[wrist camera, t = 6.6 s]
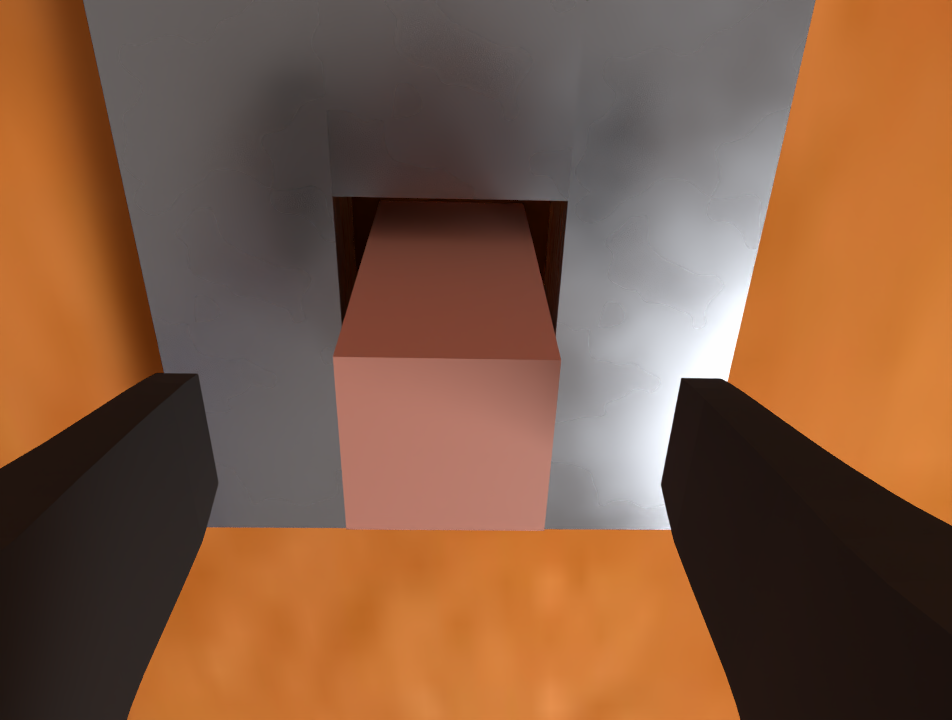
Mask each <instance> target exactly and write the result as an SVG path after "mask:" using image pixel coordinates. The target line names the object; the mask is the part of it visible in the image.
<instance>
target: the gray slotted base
mask: <svg viewBox="0 0 952 720" xmlns="http://www.w3.org/2000/svg"><path fill="white" fill-rule="evenodd" d="M83 2H84V7H85V11H86V16H87V21H88V25H89V30H90V34H91V39H92V44H93V48H94V53H95V57H96V62H97V67H98V71H99V76H100V80H101V85H102V90H103V94H104V99H105V103H106V108H107V113H108V117H109V122H110V126H111V131H112V136H113V140H114V145H115V150H116V154H117V159H118V163H119V168H120V173H121V177H122V182H123V186H124V191H125V196H126V200H127V205H128V209H129V214H130V219H131V223H132V228H133V232H134V237H135V242H136V246H137V251H138V255H139V260H140V265H141V269H142V274H143V278H144V283H145V288H146V292H147V297H148V301H149V306H150V311H151V315H152V320H153V324H154V329H155V334H156V338H157V343H158V347H159V352H160V357H161V361H162V366H163V370H164V373H198V375H199V381H200V386H201V391H202V397H203V402H204V407H205V413H206V418H207V423H208V429H209V434H210V439H211V445H212V450H213V455H214V461H215V466H216V471H217V477H218V482H219V484H218V488H217V491H216V495H215V499H214V503H213V506H212V510H211V514H210V518H209V521H208V524H207V527H273V528H346V518H345V505H344V492H343V480H342V467H341V454H340V442H339V429H338V416H337V404H336V391H335V378H334V366H333V355H334V351H335V348H336V345H337V341H338V338H339V334H340V331H341V328H342V324H343V321H344V318H345V314H346V311H347V308H348V304H349V301H350V298H351V294H352V291H353V288H354V284H355V281H356V278H357V276H356V260H355V243H354V226H353V209H352V197H390V198H442V199H494V200H546V201H550V213H549V226H548V238H547V251H546V264H545V276H544V291H545V295H546V299H547V303H548V307H549V312H550V316H551V320H552V324H553V328H554V332H555V336H556V341H557V345H558V349H559V353H560V357H561V368H560V378H559V388H558V398H557V408H556V418H555V428H554V438H553V448H552V458H551V468H550V478H549V488H548V498H547V508H546V518H545V528H544V529H633V530H671V527H670V524H669V520H668V516H667V511H666V507H665V502H664V498H663V493H662V489H661V480H662V475H663V470H664V465H665V459H666V454H667V449H668V444H669V439H670V433H671V428H672V423H673V418H674V413H675V407H676V402H677V397H678V392H679V386H680V381H681V378H722V379H723V380H725V381H727V380H728V376H729V372H730V367H731V363H732V359H733V354H734V350H735V346H736V341H737V337H738V333H739V328H740V324H741V320H742V315H743V311H744V307H745V303H746V298H747V294H748V290H749V285H750V281H751V277H752V272H753V268H754V264H755V259H756V255H757V251H758V246H759V242H760V238H761V233H762V229H763V225H764V221H765V216H766V212H767V208H768V203H769V199H770V195H771V190H772V186H773V182H774V177H775V173H776V169H777V164H778V160H779V156H780V151H781V147H782V143H783V139H784V134H785V130H786V126H787V121H788V117H789V113H790V108H791V104H792V100H793V95H794V91H795V87H796V82H797V78H798V74H799V69H800V65H801V61H802V57H803V52H804V48H805V44H806V39H807V35H808V31H809V26H810V22H811V18H812V13H813V9H814V5H815V0H83Z"/></svg>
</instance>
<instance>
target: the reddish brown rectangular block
mask: <svg viewBox="0 0 952 720" xmlns="http://www.w3.org/2000/svg"><path fill="white" fill-rule="evenodd" d="M333 366H334V378H335V391H336V404H337V416H338V429H339V442H340V454H341V467H342V480H343V492H344V505H345V518H346V529H384V530H518V531H544V528H545V518H546V508H547V498H548V488H549V478H550V468H551V458H552V448H553V438H554V428H555V418H556V408H557V398H558V388H559V378H560V368H561V357H560V353H559V349H558V345H557V341H556V336H555V332H554V328H553V324H552V320H551V316H550V312H549V307H548V303H547V299H546V295H545V291H544V287H543V283H542V278H541V274H540V270H539V266H538V262H537V258H536V254H535V249H534V245H533V241H532V237H531V233H530V229H529V224H528V220H527V216H526V212H525V208H524V204H522V203H475V202H429V201H383V200H380V201H379V204H378V208H377V211H376V214H375V218H374V221H373V224H372V228H371V231H370V234H369V238H368V241H367V244H366V248H365V251H364V254H363V258H362V261H361V264H360V268H359V271H358V274H357V278H356V281H355V284H354V288H353V291H352V294H351V298H350V301H349V304H348V308H347V311H346V314H345V318H344V321H343V324H342V328H341V331H340V334H339V338H338V341H337V345H336V348H335V351H334V355H333Z"/></svg>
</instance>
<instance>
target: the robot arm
mask: <svg viewBox="0 0 952 720" xmlns="http://www.w3.org/2000/svg"><path fill="white" fill-rule="evenodd" d="M218 484H219V482H218V477H217V471H216V466H215V461H214V455H213V450H212V445H211V439H210V434H209V429H208V423H207V418H206V413H205V407H204V402H203V397H202V391H201V386H200V381H199V375H198V373H156V374H154V375H152V376H150V377H148V378H146V379H144V380H143V381H141V382H139V383H137V384H136V385H134V386H132V387H131V388H129V389H128V390H126V391H124V392H123V393H121V394H120V395H118V396H116V397H115V398H113V399H112V400H110V401H109V402H107V403H106V404H104V405H103V406H101V407H99V408H98V409H96V410H95V411H93V412H92V413H90V414H89V415H87V416H85V417H84V418H82V419H81V420H79V421H78V422H76V423H74V424H73V425H71V426H70V427H68V428H67V429H65V430H63V431H62V432H60V433H59V434H57V435H56V436H54V437H53V438H51V439H49V440H48V441H46V442H45V443H43V444H41V445H40V446H38V447H36V448H35V449H33V450H31V451H29V452H28V453H26V454H24V455H23V456H21V457H19V458H17V459H16V460H14V461H12V462H11V463H9V464H7V465H6V466H4V467H2V468H0V720H127V717H128V714H129V711H130V708H131V706H132V703H133V700H134V698H135V695H136V693H137V690H138V688H139V685H140V683H141V680H142V678H143V675H144V673H145V671H146V668H147V666H148V664H149V662H150V659H151V657H152V655H153V653H154V650H155V648H156V646H157V644H158V641H159V639H160V637H161V635H162V632H163V630H164V628H165V626H166V623H167V621H168V619H169V617H170V615H171V612H172V610H173V608H174V606H175V603H176V601H177V599H178V597H179V594H180V592H181V590H182V588H183V585H184V583H185V581H186V578H187V576H188V574H189V572H190V569H191V567H192V565H193V562H194V560H195V558H196V555H197V553H198V551H199V548H200V546H201V544H202V541H203V538H204V534H205V531H206V528H207V524H208V521H209V518H210V514H211V510H212V506H213V503H214V499H215V495H216V491H217V488H218ZM661 489H662V493H663V498H664V502H665V507H666V511H667V516H668V520H669V524H670V527H671V531H672V535H673V539H674V543H675V545H676V548H677V551H678V554H679V556H680V559H681V561H682V564H683V567H684V569H685V572H686V574H687V577H688V580H689V582H690V585H691V587H692V590H693V592H694V595H695V597H696V600H697V602H698V605H699V607H700V610H701V613H702V615H703V618H704V620H705V623H706V625H707V628H708V630H709V633H710V635H711V638H712V640H713V643H714V645H715V648H716V650H717V653H718V655H719V658H720V660H721V663H722V666H723V668H724V671H725V673H726V676H727V679H728V682H729V685H730V688H731V691H732V693H733V696H734V699H735V702H736V705H737V709H738V712H739V716H740V720H952V526H951V525H949V524H947V523H946V522H944V521H942V520H940V519H938V518H936V517H934V516H932V515H931V514H929V513H927V512H925V511H923V510H921V509H919V508H917V507H916V506H914V505H912V504H910V503H909V502H907V501H905V500H904V499H902V498H900V497H898V496H897V495H895V494H893V493H892V492H890V491H888V490H887V489H885V488H884V487H882V486H880V485H879V484H877V483H876V482H874V481H872V480H871V479H869V478H867V477H866V476H864V475H863V474H861V473H859V472H858V471H856V470H855V469H853V468H852V467H850V466H848V465H847V464H845V463H844V462H842V461H841V460H839V459H838V458H836V457H835V456H833V455H832V454H830V453H829V452H827V451H826V450H825V449H823V448H822V447H820V446H819V445H817V444H816V443H814V442H813V441H811V440H810V439H809V438H807V437H806V436H804V435H803V434H801V433H800V432H799V431H797V430H796V429H794V428H793V427H792V426H790V425H789V424H787V423H786V422H785V421H783V420H782V419H780V418H779V417H778V416H776V415H775V414H773V413H772V412H771V411H769V410H768V409H766V408H765V407H764V406H762V405H761V404H759V403H758V402H757V401H755V400H754V399H752V398H751V397H750V396H748V395H747V394H745V393H744V392H742V391H741V390H739V389H738V388H736V387H735V386H733V385H732V384H730V383H728V382H727V381H725V380H723V379H722V378H681V381H680V386H679V392H678V397H677V402H676V407H675V413H674V418H673V423H672V428H671V433H670V439H669V444H668V449H667V454H666V459H665V465H664V470H663V475H662V480H661Z"/></svg>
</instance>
